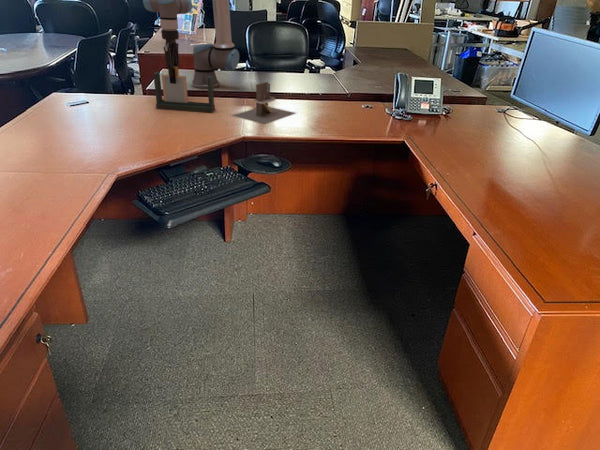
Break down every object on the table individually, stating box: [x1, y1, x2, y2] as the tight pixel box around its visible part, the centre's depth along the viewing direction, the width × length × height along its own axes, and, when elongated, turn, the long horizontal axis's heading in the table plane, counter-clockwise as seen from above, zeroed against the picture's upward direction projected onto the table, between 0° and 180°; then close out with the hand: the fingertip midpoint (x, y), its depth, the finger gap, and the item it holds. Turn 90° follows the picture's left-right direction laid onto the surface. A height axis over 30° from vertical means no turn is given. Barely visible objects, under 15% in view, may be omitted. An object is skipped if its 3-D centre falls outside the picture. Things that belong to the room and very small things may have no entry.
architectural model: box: [232, 81, 295, 125], centre depth 214 cm, size 20×25×15 cm
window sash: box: [161, 66, 189, 103], centre depth 214 cm, size 3×12×17 cm, turn 84°
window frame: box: [152, 71, 216, 114], centre depth 215 cm, size 6×28×16 cm, turn 84°
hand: (174, 82), depth 213 cm, fingers closed on window sash, 3 cm apart
